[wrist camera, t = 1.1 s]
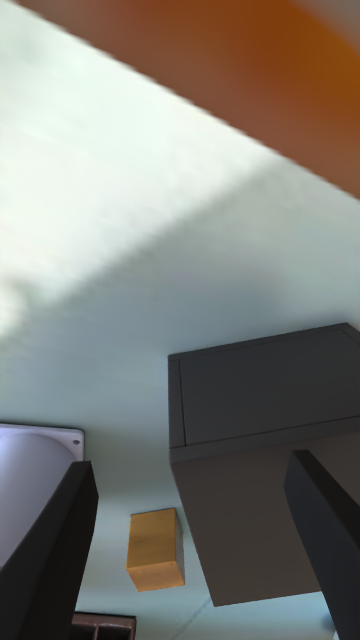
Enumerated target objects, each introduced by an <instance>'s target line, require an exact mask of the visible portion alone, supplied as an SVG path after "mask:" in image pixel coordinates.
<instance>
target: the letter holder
mask: <svg viewBox="0 0 360 640" xmlns="http://www.w3.org/2000/svg"><path fill="white" fill-rule="evenodd" d="M136 624H137V621H136V617H135V616H133V617H121V616H109V615H97V614H84V613H74V615H73V619H72V624H71V629H70V634H69V639H68V640H135V634H136Z"/></svg>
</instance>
